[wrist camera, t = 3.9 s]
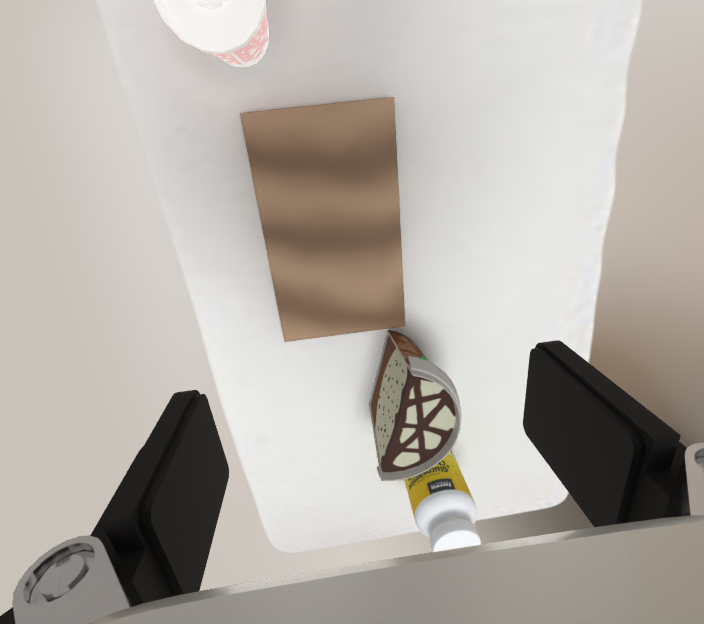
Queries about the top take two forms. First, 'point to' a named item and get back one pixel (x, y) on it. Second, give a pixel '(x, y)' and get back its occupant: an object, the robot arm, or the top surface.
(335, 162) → the walnut board
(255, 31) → the beverage cup
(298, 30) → the top surface
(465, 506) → the pill bottle
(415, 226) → the top surface
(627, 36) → the top surface
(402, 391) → the food container
